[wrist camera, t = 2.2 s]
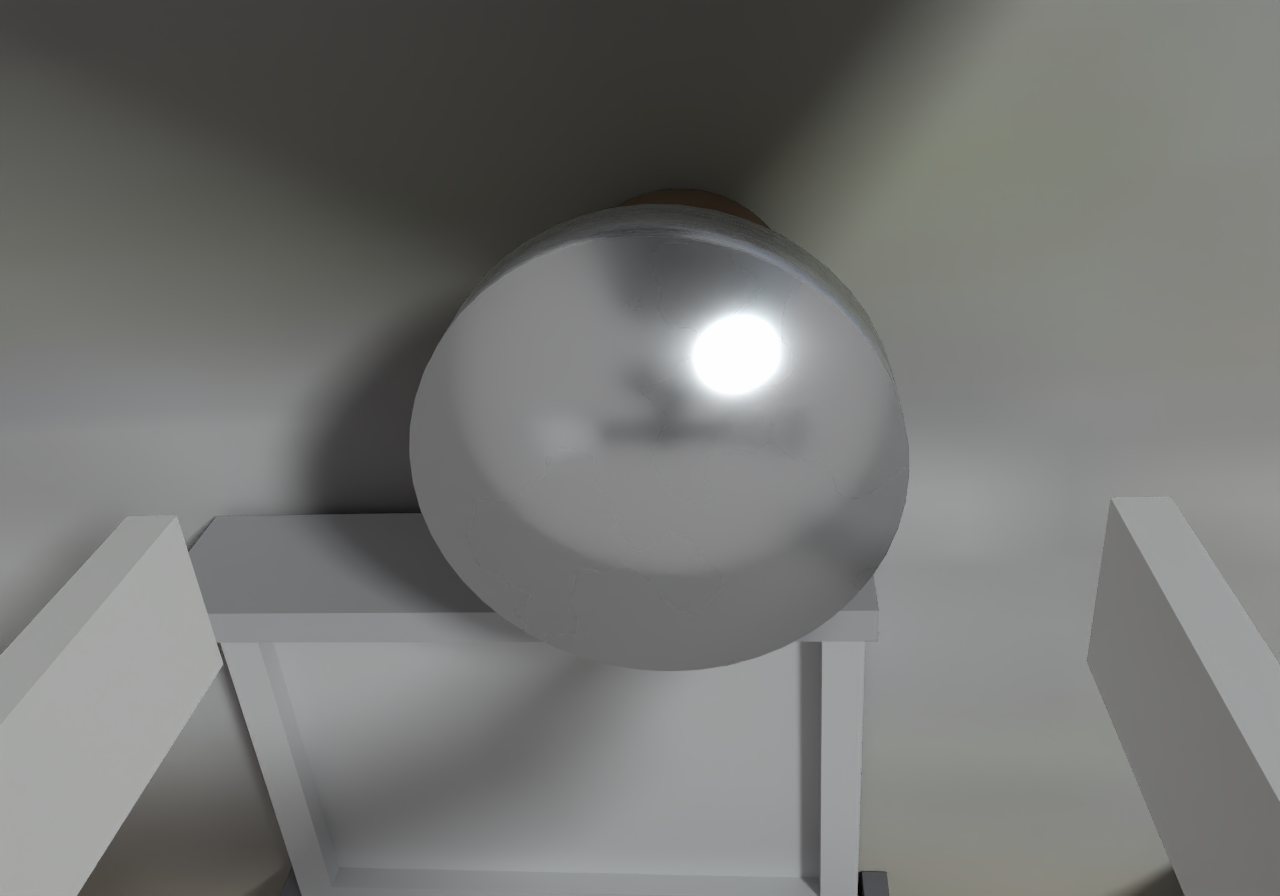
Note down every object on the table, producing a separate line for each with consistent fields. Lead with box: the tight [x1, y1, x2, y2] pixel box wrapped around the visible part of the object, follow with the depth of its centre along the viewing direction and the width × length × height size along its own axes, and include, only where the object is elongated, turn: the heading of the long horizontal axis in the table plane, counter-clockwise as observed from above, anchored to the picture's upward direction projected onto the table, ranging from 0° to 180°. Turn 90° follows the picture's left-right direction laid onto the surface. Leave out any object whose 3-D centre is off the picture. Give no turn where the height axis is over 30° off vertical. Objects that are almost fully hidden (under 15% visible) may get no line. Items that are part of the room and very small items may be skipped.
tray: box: [188, 513, 879, 896], centre depth 30 cm, size 17×16×4 cm
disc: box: [409, 204, 909, 671], centre depth 19 cm, size 8×8×2 cm
